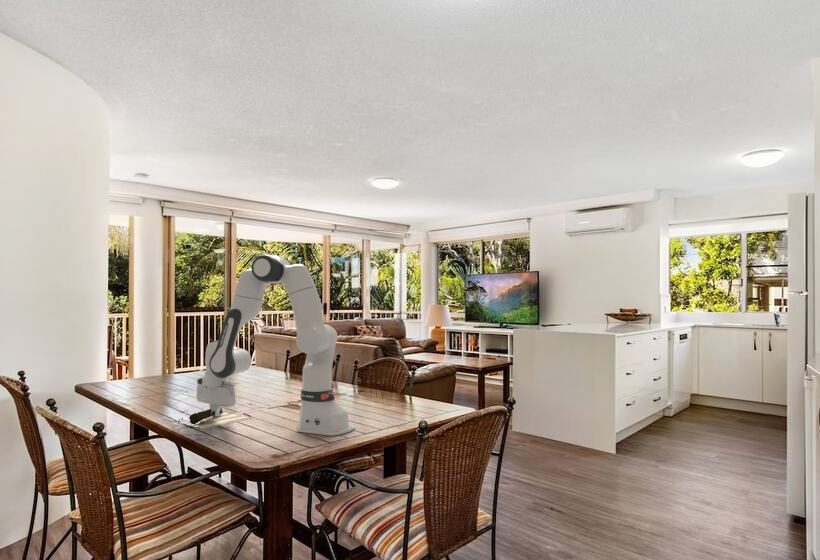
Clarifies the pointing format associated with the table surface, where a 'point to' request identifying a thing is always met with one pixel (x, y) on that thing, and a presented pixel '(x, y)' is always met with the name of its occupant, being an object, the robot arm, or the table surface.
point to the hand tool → (201, 416)
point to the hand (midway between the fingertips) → (215, 415)
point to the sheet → (219, 420)
